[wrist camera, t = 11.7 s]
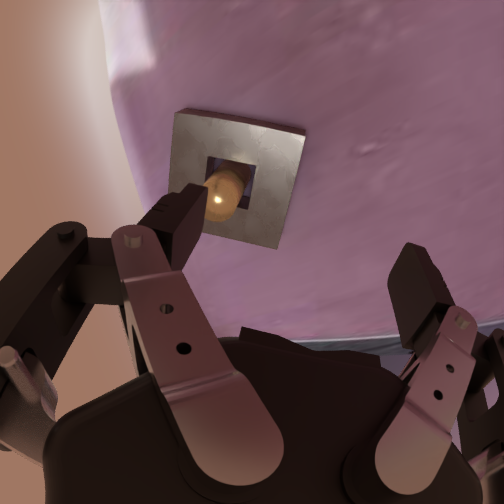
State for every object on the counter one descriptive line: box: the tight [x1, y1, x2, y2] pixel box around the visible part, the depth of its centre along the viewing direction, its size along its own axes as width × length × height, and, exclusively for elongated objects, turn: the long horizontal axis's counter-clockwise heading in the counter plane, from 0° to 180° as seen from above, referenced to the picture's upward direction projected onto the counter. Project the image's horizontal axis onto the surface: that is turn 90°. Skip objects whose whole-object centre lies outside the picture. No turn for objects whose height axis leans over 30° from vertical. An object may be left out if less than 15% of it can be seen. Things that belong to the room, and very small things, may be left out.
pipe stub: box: [203, 159, 251, 222], centre depth 34 cm, size 4×4×9 cm
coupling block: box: [168, 108, 306, 250], centre depth 36 cm, size 14×14×4 cm
